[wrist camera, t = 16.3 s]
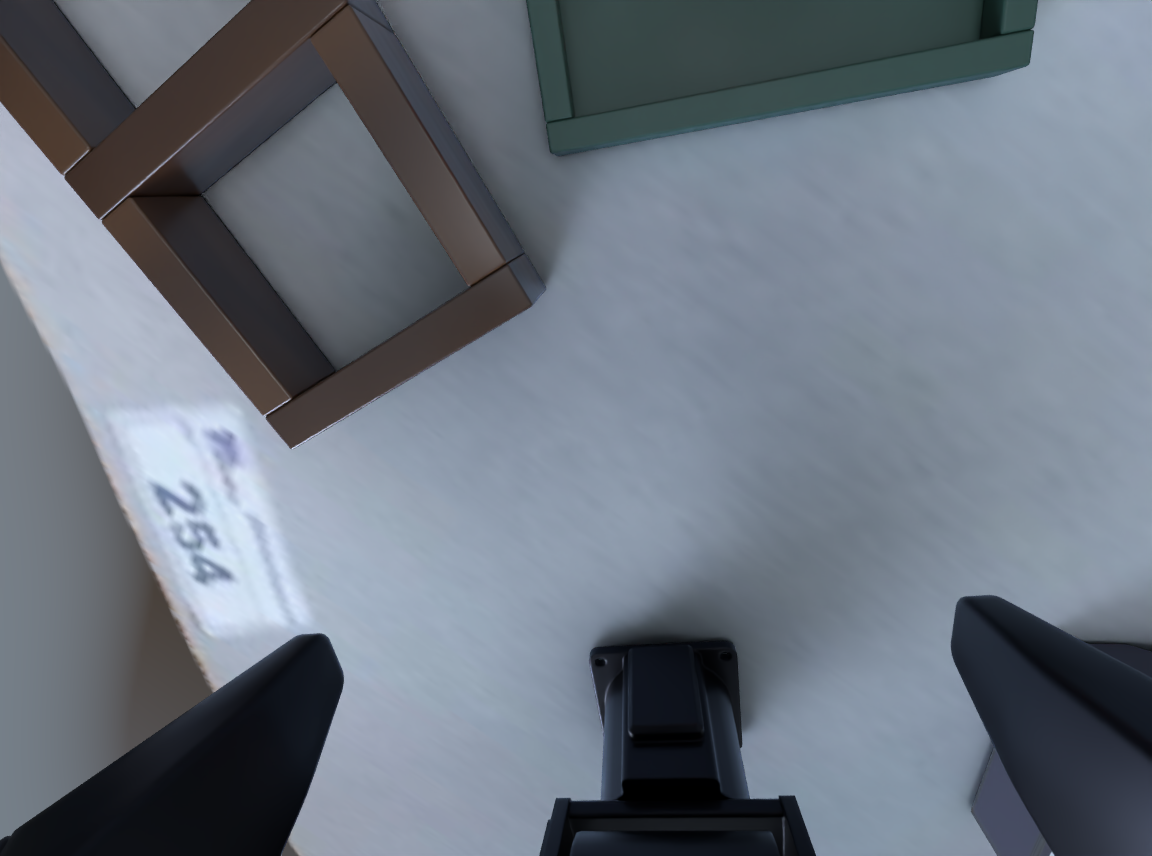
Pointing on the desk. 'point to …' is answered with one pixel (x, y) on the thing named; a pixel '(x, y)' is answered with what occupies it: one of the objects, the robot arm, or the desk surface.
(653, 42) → the tray
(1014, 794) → the grey red box
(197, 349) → the desk surface
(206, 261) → the cup rack
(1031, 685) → the robot arm
